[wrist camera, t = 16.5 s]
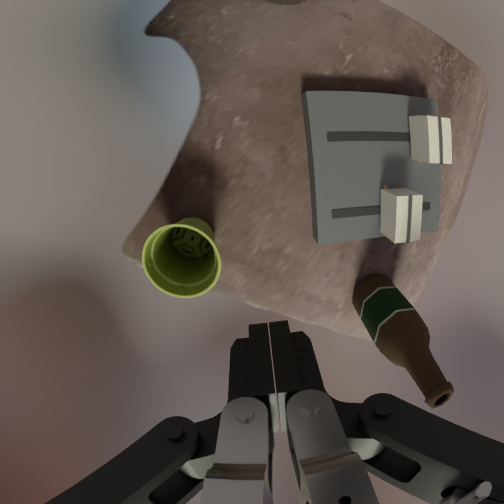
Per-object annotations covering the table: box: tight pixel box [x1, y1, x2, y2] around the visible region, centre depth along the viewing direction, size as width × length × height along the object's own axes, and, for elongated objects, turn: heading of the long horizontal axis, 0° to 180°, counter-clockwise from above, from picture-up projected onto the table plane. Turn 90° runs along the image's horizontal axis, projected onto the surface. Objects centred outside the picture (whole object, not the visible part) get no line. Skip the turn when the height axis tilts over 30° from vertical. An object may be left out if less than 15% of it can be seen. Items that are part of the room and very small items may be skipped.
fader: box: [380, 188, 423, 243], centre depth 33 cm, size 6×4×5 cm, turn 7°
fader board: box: [301, 91, 441, 245], centre depth 35 cm, size 20×20×3 cm
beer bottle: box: [352, 275, 454, 409], centre depth 33 cm, size 8×8×24 cm
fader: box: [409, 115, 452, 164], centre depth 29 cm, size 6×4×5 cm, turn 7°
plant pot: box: [142, 217, 221, 298], centre depth 36 cm, size 9×9×9 cm
